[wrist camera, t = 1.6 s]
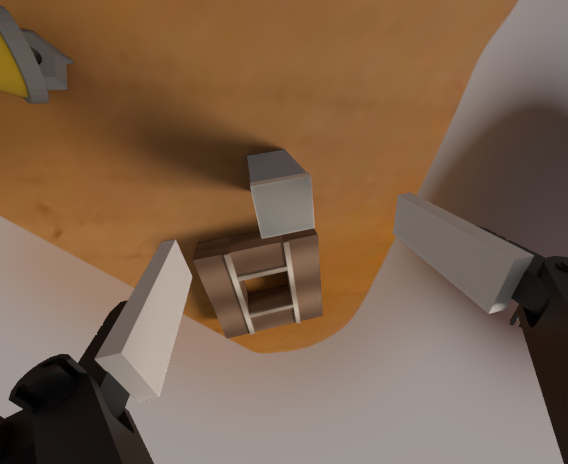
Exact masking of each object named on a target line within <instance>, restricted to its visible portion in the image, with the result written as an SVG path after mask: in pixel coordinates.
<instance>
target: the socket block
mask: <svg viewBox="0 0 568 464" xmlns="http://www.w3.org/2000/svg"><path fill="white" fill-rule="evenodd" d="M192 261H193V263H194V265H195V267H196V270H197V272H198V274H199V277H200V279H201V281H202V283H203V286H204V288H205V290H206V293H207V295H208V297H209V299H210V302H211V304H212V306H213V309H214V311H215V313H216V315H217V318H218V320H219V322H220V325H221V327H222V329H223V332H224V334H225V336H226V338H231V337H235V336H239V335H244V334H248V333H250V334H251V335H252V334H255V332H256V331H260V330H265V329H269V328H273V327H277V326H282V325H286V324H290V323H294V322H296V324H298V323H300V321H303V320H307V319H311V318H315V317H320V316H323V311H322V295H321V279H320V264H319V248H318V234H317V233H316V231H315V229H314V228H312V229H307V230H302V231H297V232H292V233H287V234H282V235H277V236H273V237H268V238H263V239H262V238H261V233H260V231H255V232H250V233H245V234H240V235H235V236H230V237H225V238H221V239H216V240H211V241H206V242H201V243H198V244H197V247H196V250H195V254H194V257H193V260H192ZM284 271H286V275H287V281H288V285H286V286H281V287H277V288H272V289H268V290H263V291H259V292H254V293H250V294H248V293H247V289H246V286H245V283H244V280H247V279H252V278H256V277H261V276H266V275H270V274H275V273H279V272H284Z"/></svg>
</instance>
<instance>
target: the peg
mask: <svg viewBox="0 0 568 464" xmlns="http://www.w3.org/2000/svg"><path fill="white" fill-rule="evenodd" d="M247 160H248V168H249V175H250V182H251V183H250V188H251V192H252V197H253V201H254V206H255V211H256V215H257V220H258V224H259V229H260V233H261V238H262V239H263V238H268V237H273V236H277V235H282V234H287V233H292V232H297V231H302V230H307V229H312V228H315V227H314V213H313V198H312V184H311V175H310V174H309V173H308V172H306V171H305V170H304V169H303V168H302V167H301V166H300V165H299V164H298V163H297V162H296V161H295V160H294V159H293V158H292V157H291V156H290V154H289V153H288V152H287V151H286V150H285V149H284V150H278V151H272V152H266V153H261V154H255V155H249V156H247Z"/></svg>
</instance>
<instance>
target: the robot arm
mask: <svg viewBox="0 0 568 464" xmlns="http://www.w3.org/2000/svg"><path fill="white" fill-rule="evenodd" d="M393 234H394V235H395V236H396V237H397V238H398V239H400V240H401V241H402V242H403V243H405V244H406V245H407V246H408V247H409V248H411V249H412V250H413V251H414V252H415V253H416V254H418V255H419V256H420V257H421V258H422V259H424V260H425V261H426V262H427V263H428V264H430V265H431V266H432V267H433V268H434V269H436V270H437V271H438V272H440V274H442V275H443V276H444V277H445V278H447V279H448V280H449V281H450V282H451V283H452V284H454V285H455V286H456V287H457V288H458V289H460V290H461V291H462V292H463V293H464V294H466V295H467V296H468V297H469V298H470V299H472V300H473V301H474V302H475V303H476V304H478V305H479V306H480V307H481V308H482V309H484V310H485V311H486V312H487V313H493V312H497V311H501V310H505V309H506V308H507V306H508V304H509V302H510V300H511V298H512V299H514V300H515V301H516V302H517V303H519V305H518V307H517V309H516V311H515V312H514V314H513V316H512V318H511V320H510V325H514V323H515V322H516V320H518V319H519V320H520V325H519V327H521V328H522V330H523V333H524V336H525V340H526V343H527V345H528V349H529V353H530V356H531V359H532V362H533V365H534V368H535V372H536V375H537V378H538V381H539V385H540V387H541V391H542V394H543V397H544V401H545V404H546V407H547V410H548V414H549V417H550V420H551V423H552V426H553V430H554V433H555V436H556V439H557V443H558V446H559V449H560V452H561V455H562V459H563V462H564V464H568V257H561V256H552V257H547V258H544V257H543V256H541V255H539V254H537V253H535V252H533V251H531V250H529V249H526V248H524V247H522V246H520V245H518V244H516V243H514V242H512V241H510V240H507V239H506V238H504V237H502V236H498V234H496V233H494V232H492V231H490V230H488V229H486V228H483V227H479V226H475V225H473V224H471V223H469V222H467V221H465V220H463V219H461V218H459V217H457V216H455V215H453V214H451V213H449V212H447V211H445V210H443V209H441V208H439V207H437V206H435V205H434V204H432V203H430V202H428V201H426V200H423V199H422V198H420V197H418V196H416V195H414V194H412V193H405V194H400V195H398V199H397V207H396V215H395V222H394V230H393ZM191 281H192V275H191V273H190V270H189V268H188V266H187V264H186V261H185V259H184V257H183V255H182V253H181V250H180V248H179V246H178V244H177V241H176V239H175V240H170V241H165V242H161V244H160V246H159V247H158V249H157V251H156V253H155V254H154V256H153V258H152V260H151V261H150V263H149V265H148V267H147V268H146V270H145V272H144V273H143V275H142V277H141V279H140V280H139V282H138V284H137V286H136V287H135V289H134V291H133V293H132V295H131V296H130V298H129V300H127V301H123V302H120V303H119V304H118V305H117V306H116V307H115V308H114V309H113V310H112V311H111V312H110V313H109V315H108V316H107V318H106V319H105V321H104V323H103V325H102V326H101V327H100V329H99V330H98V332H97V335H95V337H94V338H93V340H92V342H91V343H90V345H89V346H88V348H87V350H86V351H85V353H84V354H83V356H82V357H81V359H80V361H79V362H78V363H77V362H75V360H74V359H72V358H71V357H70V356H69V355H68V354H59V355H57V356H53V357H50V358H49V359H47V360H45V361H43V362H41V363H39V364H38V365H37V366H35V367H34V368H32V369H31V370H30V371H28V372H27V373H26V374H25V375H24V376H23V377H22V378H21V379H20V380H19V381H18V382H17V384H16V385H15V387H14V388H13V390H12V391H11V393H10V397H9V400H10V401H11V402H13V403H14V404H16V405H18V406H19V407H21V408H22V409H23V410H21V411H19V412H17V413H15V414H13V415H11V416H9V417H7V418H5V419H4V418H3V417H1V416H0V464H154V463H153V461H152V459H151V457H150V454H149V452H148V451H147V448H146V446H145V444H144V442H143V440H142V438H141V436H140V434H139V431H138V430H137V427H136V425H135V423H134V421H133V419H132V417H131V415H130V413H129V411H128V410H127V409H126V408H125V406H126V403H127V400H128V398H129V395H130V396H131V397H132V398H133V399H134V400H135V401H136V402H137V403H140V402H144V401H148V400H152V399H156V398H159V397H160V393H161V390H162V386H163V382H164V379H165V375H166V371H167V368H168V364H169V360H170V357H171V353H172V349H173V346H174V342H175V339H176V335H177V331H178V328H179V324H180V321H181V317H182V313H183V310H184V306H185V302H186V299H187V295H188V292H189V288H190V284H191Z"/></svg>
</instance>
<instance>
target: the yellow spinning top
mask: <svg viewBox="0 0 568 464" xmlns="http://www.w3.org/2000/svg"><path fill="white" fill-rule="evenodd" d="M35 58H36V59H37V60H39V61H40V62H41V64H39V65H38V63H37V61H36V59H35ZM71 63H75V62H74V61H72V60H71V59H70V58H68V57H67V56H66V55H64V54H63V53H62V52H60V51H59V50H58V49H56V48H55V47H54V46H52V45H51V44H50V43H48V42H47V41H46V40H44V39H43V38H42V37H40V36H39V35H38V34H36V33H35V32H34V31H30V30H23V29H20V28H19V26H18V25H17V23H16V22H15V20H14V19H13V17H12V16H11V14H10V13H9V12H8V11H7V10H6V9H5V8H4V7H3V6H0V91H2V92H6V93H10V94H14V95H18V96H22V97H23V98H24V99H25V100H26V101H27V102H28V103H30V104H31V103H48V102H49V95H48V90H68V87H67V68H66V65H67V64H71Z"/></svg>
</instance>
